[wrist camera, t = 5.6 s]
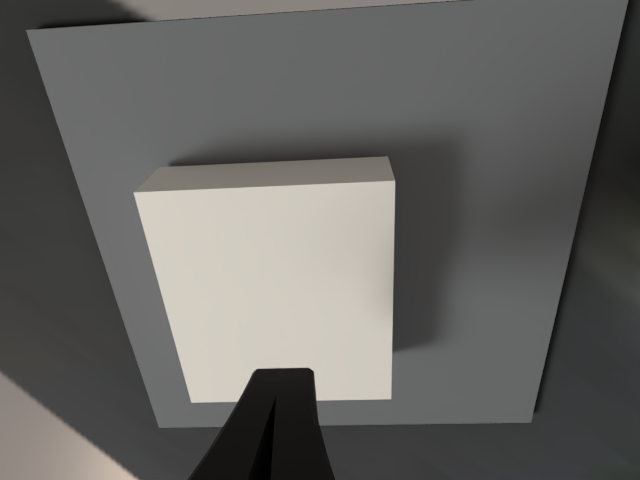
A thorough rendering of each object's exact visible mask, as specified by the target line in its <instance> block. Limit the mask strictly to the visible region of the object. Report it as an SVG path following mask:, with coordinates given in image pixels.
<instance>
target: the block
mask: <svg viewBox="0 0 640 480" xmlns="http://www.w3.org/2000/svg"><path fill="white" fill-rule="evenodd" d="M133 193H134V196H135V200H136V204H137V207H138V211H139V214H140V218H141V222H142V225H143V229H144V233H145V236H146V240H147V243H148V247H149V251H150V254H151V258H152V262H153V265H154V269H155V272H156V276H157V280H158V283H159V287H160V291H161V294H162V298H163V302H164V305H165V309H166V312H167V316H168V320H169V323H170V327H171V331H172V334H173V338H174V341H175V345H176V349H177V352H178V356H179V360H180V363H181V367H182V370H183V374H184V378H185V381H186V385H187V389H188V392H189V396H190V400H191V403H203V402H238V400H239V399H240V397H241V395H242V393H243V391H244V389H245V387H246V385H247V383H248V381H249V379H250V377H251V375H252V373H253V372H254V371H255V370H256V369H267V368H310V369H311V370H313V371H314V378H315V389H316V400H317V401H321V400H380V399H391V384H392V330H393V276H394V222H395V178H394V175H393V172H392V168H391V165H390V162H389V158H388V156H384V157H363V158H342V159H321V160H300V161H279V162H258V163H238V164H217V165H196V166H175V167H159V168H158V169H157V170H156V171H155V172H154V173H153V174H152V175H151V176H150V177H149V178H148V179H147V180H146V181H145V182H144V183H143V184H142V185H141V186H139V187H138V188H137V189H136V190H135V191H134V192H133Z"/></svg>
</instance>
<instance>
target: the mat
mask: <svg viewBox="0 0 640 480" xmlns="http://www.w3.org/2000/svg"><path fill="white" fill-rule="evenodd" d="M627 4H628V0H462V1H446V2H432V3H417V4H402V5H387V6H372V7H357V8H342V9H328V10H312V11H298V12H283V13H269V14H253V15H238V16H223V17H209V18H193V19H179V20H163V21H149V22H134V23H119V24H104V25H89V26H74V27H59V28H44V29H32V30H26V32H27V35H28V38H29V41H30V44H31V46H32V49H33V52H34V55H35V58H36V61H37V64H38V67H39V70H40V73H41V76H42V79H43V82H44V85H45V88H46V91H47V94H48V97H49V100H50V103H51V106H52V109H53V112H54V115H55V118H56V121H57V124H58V127H59V130H60V133H61V136H62V139H63V142H64V145H65V148H66V151H67V154H68V157H69V160H70V163H71V166H72V169H73V172H74V175H75V178H76V181H77V184H78V187H79V190H80V193H81V196H82V199H83V202H84V205H85V208H86V211H87V214H88V217H89V220H90V223H91V226H92V228H93V231H94V234H95V237H96V240H97V243H98V246H99V249H100V252H101V255H102V258H103V261H104V264H105V267H106V270H107V273H108V276H109V279H110V282H111V285H112V288H113V291H114V294H115V297H116V300H117V303H118V306H119V309H120V312H121V315H122V318H123V321H124V324H125V327H126V330H127V333H128V336H129V339H130V342H131V345H132V348H133V351H134V354H135V357H136V360H137V363H138V366H139V369H140V372H141V375H142V378H143V381H144V384H145V387H146V390H147V393H148V396H149V399H150V402H151V405H152V408H153V411H154V413H155V416H156V419H157V422H158V425H159V428H168V427H223V426H224V424H225V423H226V421H227V419H228V418H229V416H230V414H231V413H232V411H233V409H234V407H235V406H236V404H237V402H203V403H191V400H190V396H189V392H188V389H187V385H186V381H185V378H184V374H183V370H182V367H181V363H180V360H179V356H178V352H177V349H176V345H175V341H174V338H173V334H172V331H171V327H170V323H169V320H168V316H167V312H166V309H165V305H164V302H163V298H162V294H161V291H160V287H159V283H158V280H157V276H156V272H155V269H154V265H153V262H152V258H151V254H150V251H149V247H148V243H147V240H146V236H145V233H144V229H143V225H142V222H141V218H140V214H139V211H138V207H137V204H136V200H135V196H134V193H133V192H134V191H135V190H136V189H137V188H138V187H139V186H141V185H142V184H143V183H144V182H145V181H146V180H147V179H148V178H149V177H150V176H151V175H152V174H153V173H154V172H155V171H156V170H157V169H158V168H159V167H175V166H196V165H217V164H238V163H258V162H279V161H300V160H321V159H342V158H363V157H384V156H388V158H389V162H390V165H391V168H392V172H393V175H394V178H395V222H394V276H393V330H392V384H391V399H380V400H321V401H317V411H318V421H319V425H386V424H458V423H531V420H532V415H533V411H534V407H535V402H536V398H537V394H538V389H539V385H540V381H541V376H542V372H543V368H544V364H545V359H546V355H547V351H548V346H549V342H550V338H551V333H552V329H553V325H554V320H555V316H556V312H557V307H558V303H559V299H560V294H561V290H562V286H563V281H564V277H565V273H566V268H567V264H568V260H569V255H570V251H571V247H572V242H573V238H574V234H575V229H576V225H577V221H578V216H579V212H580V208H581V203H582V199H583V195H584V190H585V186H586V182H587V177H588V173H589V169H590V164H591V160H592V156H593V151H594V147H595V143H596V138H597V134H598V130H599V125H600V121H601V117H602V112H603V108H604V104H605V99H606V95H607V91H608V86H609V82H610V78H611V73H612V69H613V65H614V60H615V56H616V52H617V47H618V43H619V39H620V34H621V30H622V26H623V21H624V17H625V13H626V8H627Z"/></svg>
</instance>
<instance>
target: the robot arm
mask: <svg viewBox="0 0 640 480" xmlns="http://www.w3.org/2000/svg"><path fill="white" fill-rule="evenodd" d="M188 480H335V478H334V475H333V472H332V469H331V466H330V462H329V459H328V456H327V452H326V448H325V445H324V441H323V437H322V433H321V430H320V425H319V421H318V411H317V400H316V389H315V378H314V371H313V370H311V369H310V368H267V369H256V370H255V371H254V372H253V373H252V375H251V377H250V379H249V381H248V383H247V385H246V387H245V389H244V391H243V393H242V395H241V397H240V399H239V400H238V402H237V404H236V406H235V407H234V409H233V411H232V413H231V414H230V416H229V418H228V419H227V421H226V423H225V424H224V426H223V427H222V429H221V431H220V432H219V434H218V436H217V437H216V439H215V440H214V442H213V444H212V445H211V447H210V448H209V450H208V451H207V453H206V454H205V456H204V457H203V459H202V460H201V462H200V463H199V464H198V466H197V467H196V469H195V470H194V472H193V473H192V474H191V476H190V477H189V479H188Z"/></svg>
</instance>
